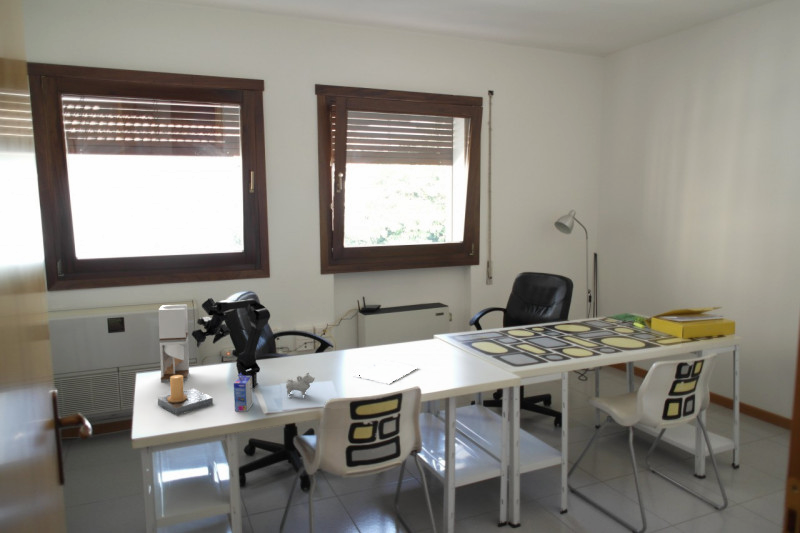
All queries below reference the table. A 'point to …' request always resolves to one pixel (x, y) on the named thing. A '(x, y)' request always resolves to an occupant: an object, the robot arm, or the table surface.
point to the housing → (186, 402)
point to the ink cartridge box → (243, 393)
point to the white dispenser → (173, 341)
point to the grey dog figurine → (300, 384)
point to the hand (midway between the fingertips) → (205, 345)
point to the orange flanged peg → (176, 390)
